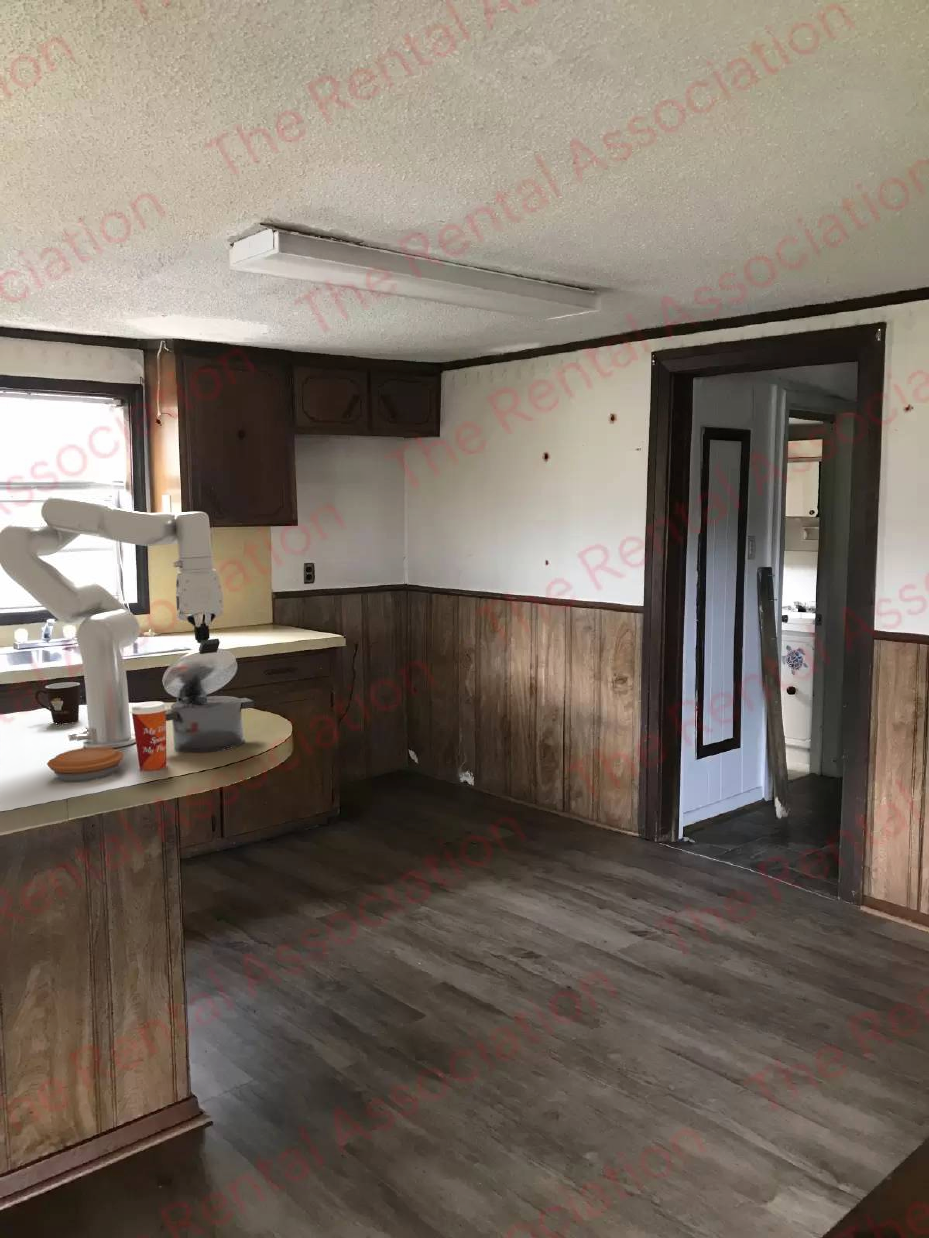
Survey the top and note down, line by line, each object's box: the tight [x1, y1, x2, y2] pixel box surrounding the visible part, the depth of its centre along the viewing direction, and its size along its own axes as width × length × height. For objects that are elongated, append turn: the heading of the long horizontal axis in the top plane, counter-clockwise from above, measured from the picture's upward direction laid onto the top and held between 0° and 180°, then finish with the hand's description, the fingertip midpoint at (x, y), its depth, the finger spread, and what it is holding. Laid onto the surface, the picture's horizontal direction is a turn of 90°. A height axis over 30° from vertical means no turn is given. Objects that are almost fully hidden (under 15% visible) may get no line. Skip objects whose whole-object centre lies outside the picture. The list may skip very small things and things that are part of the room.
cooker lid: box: [162, 638, 238, 700], centre depth 240 cm, size 18×21×3 cm
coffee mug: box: [34, 681, 81, 725], centre depth 273 cm, size 12×9×10 cm
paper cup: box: [129, 700, 168, 772], centre depth 220 cm, size 8×8×14 cm
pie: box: [46, 747, 125, 783], centre depth 217 cm, size 15×16×5 cm
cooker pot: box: [166, 695, 255, 754], centre depth 241 cm, size 22×19×10 cm
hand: (202, 642), depth 238 cm, fingers closed
